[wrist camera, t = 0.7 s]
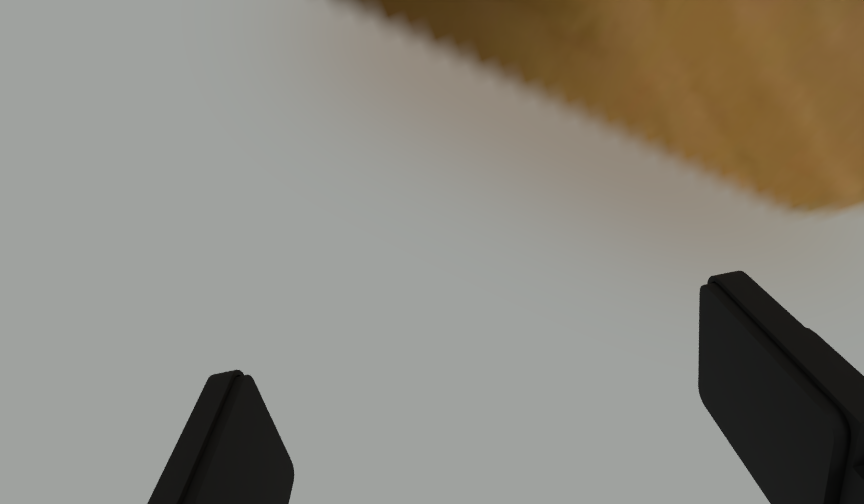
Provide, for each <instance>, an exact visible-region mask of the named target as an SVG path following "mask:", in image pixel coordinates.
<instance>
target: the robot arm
mask: <svg viewBox="0 0 864 504" xmlns="http://www.w3.org/2000/svg"><path fill="white" fill-rule="evenodd" d="M699 312H700V313H699V378H698V379H699V380H698V387H699V394H700V397H701V399H702V402H703V404H704V405H705V407H706V409H707V410H708V412H709V413H710V414H711V416H712V417H713V419H714V420H715V422H716V423H717V425H718V426H719V428H720V429H721V431H722V432H723V434H724V435H725V437H726V438H727V440H728V441H729V443H730V444H731V446H732V447H733V449H734V450H735V452H736V453H737V455H738V456H739V457H740V459H741V460H742V462H743V463H744V465H745V466H746V468H747V469H748V471H749V472H750V474H751V475H752V477H753V478H754V480H755V481H756V483H757V484H758V486H759V487H760V488H761V490H762V492H763V493H764V494H765V496H766V498H767V499H768V500H769V502H770V503H771V504H864V376H863V375H862V374H861V373H860V372H859V371H857V370H856V369H855V368H854V367H853V366H852V365H851V364H850V363H848V362H847V361H846V360H845V359H844V358H843V357H842V356H841V355H840V354H839V353H837V352H836V351H835V350H834V349H833V348H832V347H831V346H830V345H828V344H827V343H826V342H825V341H824V340H823V339H822V338H821V337H820V336H818V335H817V334H816V333H815V332H813V331H812V330H810V329H809V328H805V327H804V326H803V325H802V324H801V323H800V322H799V321H797V320H796V319H795V318H794V317H793V316H792V315H791V314H790V313H789V312H787V310H785V309H784V308H783V307H782V306H781V305H780V304H779V303H778V302H777V301H775V300H774V299H773V298H772V297H771V296H770V295H769V294H768V293H767V292H766V291H764V290H763V289H762V288H761V287H760V286H759V285H758V284H757V283H756V282H755V281H754V280H752V279H751V278H750V277H749V276H748V275H747V274H746V273H744V272H743V271H735V272H730V273H725V274H720V275H715V276H711V277H710V278H709V280H708V284H706V285H703V286H701V288H700V307H699ZM293 481H294V468H293V464H292V461H291V459H290V457H289V455H288V453H287V450H286V448H285V446H284V444H283V442H282V440H281V438H280V436H279V433H278V431H277V429H276V427H275V425H274V422H273V420H272V418H271V416H270V414H269V412H268V410H267V408H266V405H265V403H264V401H263V399H262V397H261V395H260V392H259V391H258V388H257V386H256V384H255V382H254V380H253V378H252V377H251V376H250V375H244V374H243V372H241V371H240V370H234V371H229V372H224V373H219V374H214V375H211V376H210V377H209V378H208V380H207V382H206V384H205V386H204V388H203V391H202V392H201V395H200V397H199V399H198V401H197V403H196V405H195V407H194V409H193V411H192V413H191V415H190V417H189V419H188V421H187V423H186V425H185V428H184V430H183V432H182V434H181V436H180V438H179V440H178V442H177V444H176V446H175V448H174V450H173V452H172V455H171V456H170V458H169V460H168V462H167V465H166V467H165V469H164V471H163V473H162V475H161V477H160V479H159V481H158V483H157V485H156V487H155V489H154V491H153V493H152V495H151V497H150V500H149V502H148V504H288V503H289V499H290V495H291V490H292V486H293Z"/></svg>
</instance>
